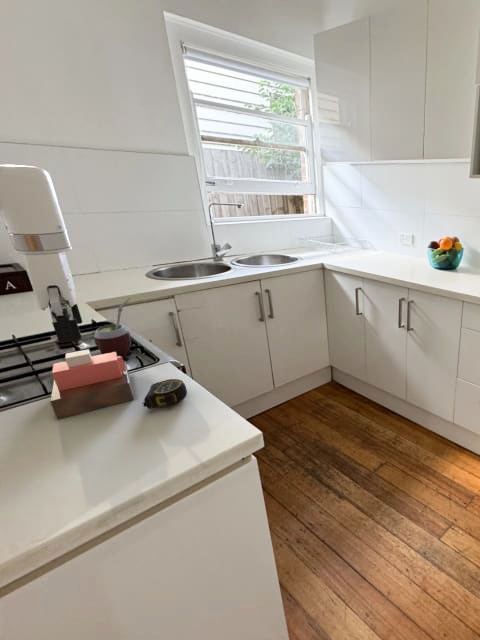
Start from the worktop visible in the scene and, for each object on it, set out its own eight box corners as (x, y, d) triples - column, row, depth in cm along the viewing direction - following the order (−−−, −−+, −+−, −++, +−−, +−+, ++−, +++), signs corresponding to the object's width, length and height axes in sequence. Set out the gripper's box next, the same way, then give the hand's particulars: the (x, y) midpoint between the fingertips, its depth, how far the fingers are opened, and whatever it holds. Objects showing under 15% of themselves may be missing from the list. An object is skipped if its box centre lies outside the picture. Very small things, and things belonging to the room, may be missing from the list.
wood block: (57, 419, 72) (49, 401, 70) (61, 392, 80) (54, 375, 79) (134, 399, 79) (128, 382, 77) (129, 376, 87) (125, 361, 86)
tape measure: (155, 395, 80) (150, 380, 79) (191, 391, 82) (187, 375, 81) (145, 413, 74) (140, 396, 73) (184, 408, 76) (180, 392, 75)
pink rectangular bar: (58, 391, 73) (47, 363, 71) (60, 381, 77) (49, 354, 74) (127, 375, 80) (119, 350, 77) (125, 367, 83) (117, 342, 81)
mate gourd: (94, 360, 94) (74, 302, 88) (126, 348, 101) (110, 294, 95) (115, 366, 92) (96, 307, 86) (146, 353, 98) (131, 297, 92)
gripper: (18, 236, 71) (49, 321, 78) (3, 252, 59) (41, 352, 65) (71, 234, 75) (95, 315, 82) (67, 249, 63) (96, 343, 70)
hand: (71, 332), depth 74 cm, fingers open, 9 cm apart
